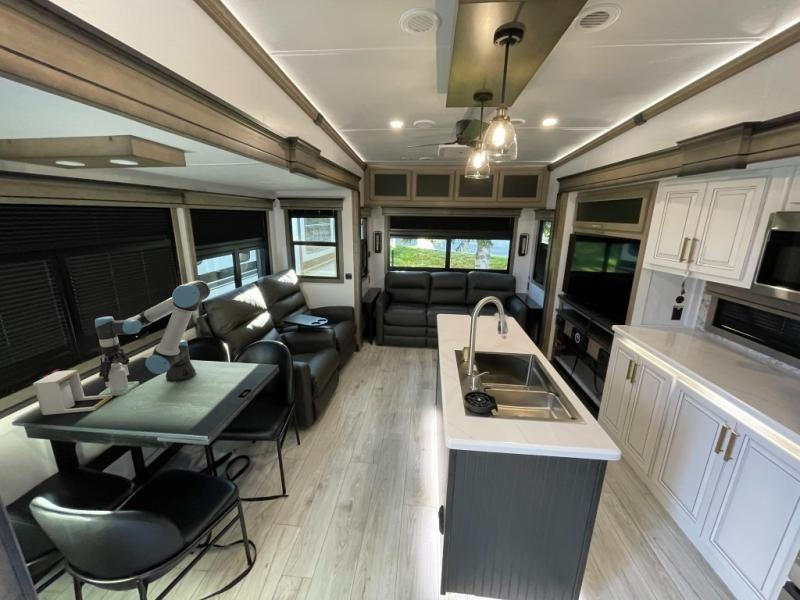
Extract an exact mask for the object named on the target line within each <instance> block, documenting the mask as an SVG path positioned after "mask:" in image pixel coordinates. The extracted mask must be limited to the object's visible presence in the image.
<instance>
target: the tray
mask: <svg viewBox="0 0 800 600" xmlns="http://www.w3.org/2000/svg"><path fill="white" fill-rule="evenodd" d="M128 385H129V387H128V388H127V389H126V390H124V391H121V392H111V391H110V388H109V387H106V388H105V389H104V390H103V391H101V392H100V393H99V394H98V396H100V395H111V394H112V397H116V396H126V395H127V394H129V393H130V392H131V391H132V390H133V389H135V388H136V387H138V386H139V385H140V381H139V380H138V381H128Z"/></svg>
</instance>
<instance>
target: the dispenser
mask: <svg viewBox="0 0 800 600" xmlns="http://www.w3.org/2000/svg"><path fill="white" fill-rule="evenodd" d="M79 372H80V371H79V370H78V369H72V370H71V369H70V370H60V371H59V370H58V371H54V372H53V373H51V374H49V375H47V376H45V377H42V378H41V379H39V380H37V381H35V382H33V383H32V385H33V388H34V392H35V396H36V399H37V401H38V405H39V409H40V412H41V415H42V416H47V415H48V416H49V415H57V414H58V415H59V414H69V413H70V414H71V413H80V412H91V411H95V410H97V409H99V408H100V407H101V406H102V405H104V404H105V403H106V402H108V401H109V400H111V399H112V398H113V396H112V394H111V395H100V396H99V395H89V396H85V393H84V390H83V385H82V381H81V377H80V373H79ZM90 400H93V401H94V400H100V401H99V402H98V403H96V404H94V405H93V406H88V407H85V406H84V407H75V408H72V407H74V406H75V405H76V402H79V401H90Z"/></svg>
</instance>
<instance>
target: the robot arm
mask: <svg viewBox="0 0 800 600" xmlns="http://www.w3.org/2000/svg"><path fill="white" fill-rule="evenodd" d="M210 294H211V288H210V286H209V285H208V283H206V282H205V281H202V280H193V281H190V282H186V283H182V284H180V285H179V286H177V287H176V288H175V289H174V290H173V292H172V295H171V296H172V297H169V298H168V299H166V300H164V301H162V302H160V303H158V304H156V305H154V306H152V307H150V308H148V309H146V310H144V311H142V312H140V313H137V314H136V315H133V316H131V317H129V318H128V317H127V318H126V319H121V320H118V319H117V320H115V319H114V317H113V316H109V315H108V316H102V317H98V318H96V319H95V320H94V325H95V326H94V327H95V330H96V333H97V336H98V341H99V346H100V350H101V354H103V355H104V356H103V357H100V366H99V373H98V377H101V378H102V377H103V382H104V383H105V387H106V388H109V387H112V386H113V384H112V380H111V376H110V375H109V372H110V369H111V366H112V364H114V362H115V361H117V363H120V364H121V367H123V368H124V369H125V371H126V376H129V375H130V372H129V366H128V364H130V359H129V357H128V356H127V354H126V352H124V349H123V348H121V346H120V343H119V342H120V341H119V337H118V335H132V334H138V333H140V332H141V330H142V329H143V328H144V327H148V326H149V325H152V323H155V322H156V321H159V320H160V319H162V318H164V317H167V316H168V315H170V314H171V316H170V318H169V321H168V324H167V325H166V328H165V330H164V333H163V335H162V338H161V340H160V342H159V344H156V345H155V347H154V349H153V352H152V354H151V355H149V356H148V357H147V358H146V360H145V363H144V364H145V367H146V368H147V370H148V371H149V372H151V373H154V374H156V375H163V374H165V379H166V382H168V383H179V382H184V381H186V380H189V379H192V378H193V377H195V375H197V371H196V368H195V367H194V366H193V364H192V362H191V357H190V351H189V350H190V349H189V345H188V341H187V340H186V339H183V337H184V334H185V332H186V330H187V327H188V324H189V322H190V320H191V318H192V315H193V313H194V312H196V311H197V310H198V308H199V307H200V303H201V302H203V301H204V300H205V301H206V299H207V298H208V297H209V296H210ZM106 373H107V374H106Z"/></svg>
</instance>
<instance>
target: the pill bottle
mask: <svg viewBox="0 0 800 600" xmlns="http://www.w3.org/2000/svg"><path fill="white" fill-rule="evenodd" d="M121 365H122V364H121V363H120V362H115V363H114V362H113V364H112V366H111V369H110V372H109V375H110V376H111V380H112V384H113V386H112V387H108V388H110V391H111V392H121V391H124V390H126V389H127V388H128V387H129V385H128V382H129V381H128V375H126V371H125V369H124V368H123V367H121ZM106 374H107V373H106Z"/></svg>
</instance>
